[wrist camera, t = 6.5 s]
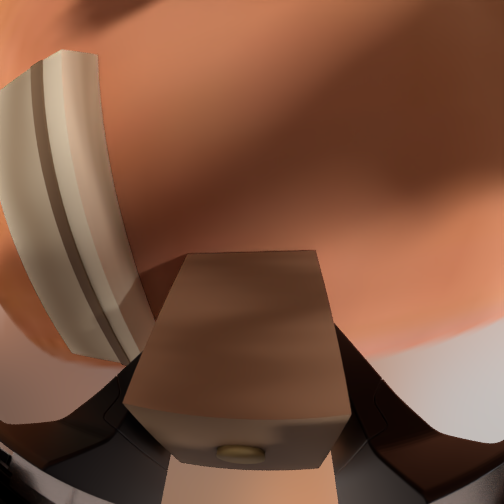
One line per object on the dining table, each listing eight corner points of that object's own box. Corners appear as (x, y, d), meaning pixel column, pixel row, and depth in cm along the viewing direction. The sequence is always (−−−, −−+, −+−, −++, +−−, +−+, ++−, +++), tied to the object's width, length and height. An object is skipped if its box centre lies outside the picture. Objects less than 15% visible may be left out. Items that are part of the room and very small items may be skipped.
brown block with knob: (315, 250, 9) (352, 423, 4) (308, 338, 12) (319, 473, 6) (187, 253, 10) (119, 410, 4) (207, 339, 12) (179, 467, 7)
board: (97, 54, 6) (59, 49, 4) (160, 334, 12) (147, 368, 10) (18, 96, 6) (-18, 104, 5) (88, 326, 12) (71, 354, 10)
